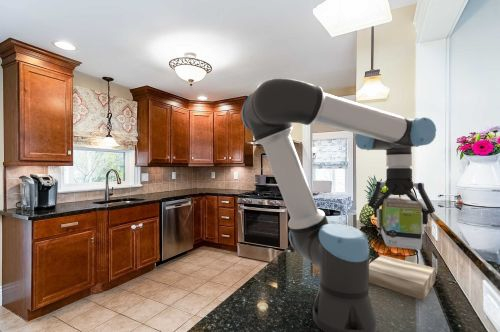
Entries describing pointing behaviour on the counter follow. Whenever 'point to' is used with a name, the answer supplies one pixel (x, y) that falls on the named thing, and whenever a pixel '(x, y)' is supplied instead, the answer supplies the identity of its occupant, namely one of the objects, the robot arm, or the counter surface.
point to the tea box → (401, 223)
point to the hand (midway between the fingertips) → (399, 230)
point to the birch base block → (402, 276)
